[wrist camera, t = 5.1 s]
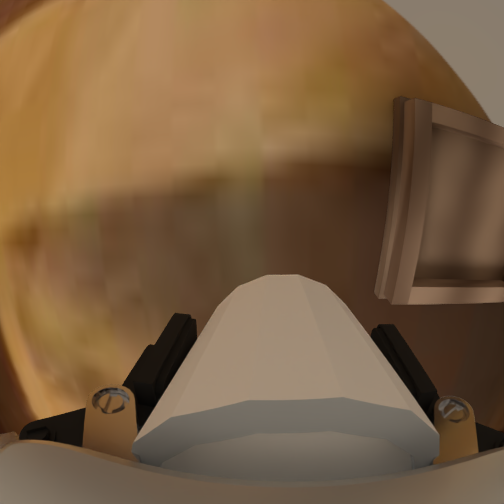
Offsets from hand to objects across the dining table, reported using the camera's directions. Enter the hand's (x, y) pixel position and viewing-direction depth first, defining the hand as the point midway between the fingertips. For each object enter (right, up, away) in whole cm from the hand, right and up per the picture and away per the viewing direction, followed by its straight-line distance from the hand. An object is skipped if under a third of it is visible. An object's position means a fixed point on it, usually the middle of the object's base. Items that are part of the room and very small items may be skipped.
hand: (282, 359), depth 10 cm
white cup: (0, 0, +1) cm, 1 cm away
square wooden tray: (+14, +7, +7) cm, 17 cm away
